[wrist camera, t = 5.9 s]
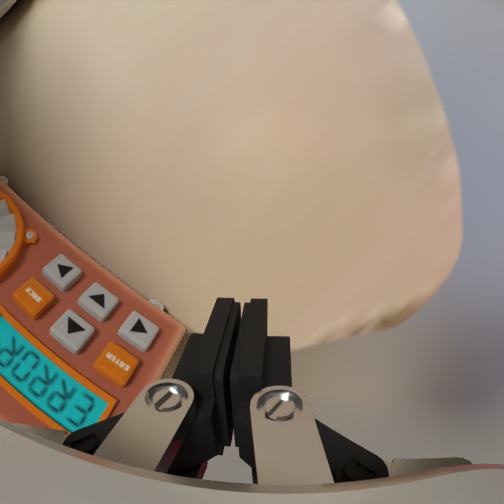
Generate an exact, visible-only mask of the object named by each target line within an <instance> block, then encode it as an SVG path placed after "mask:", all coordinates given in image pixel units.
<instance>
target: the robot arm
mask: <svg viewBox="0 0 504 504" xmlns="http://www.w3.org/2000/svg"><path fill="white" fill-rule="evenodd" d="M16 1H17V0H0V18H1V17H2V16H3V15H4V14H5V13H6V12H7V11H8V10H9V9H10V8H11V6H12V5H13V4H14V3H15V2H16ZM290 357H291V355H290V337H283V336H267V299H251V302H250V303H245V304H244V308H243V313H242V318H241V306H240V302H235V301H234V298H217V300H216V303H215V305H214V308H213V311H212V313H211V316H210V318H209V321H208V324H207V326H206V329H205V332H204V334H199V333H193V334H191V336H190V338H189V340H188V343H187V345H186V347H185V350H184V352H183V354H182V356H181V359H180V361H179V363H178V366H177V368H176V370H175V373H174V375H173V377H172V379H160V380H157V381H154V382H152V383H150V384H148V385H147V386H146V387H145V388H144V389H143V390H142V391H141V392H140V393H139V395H138V396H137V397H136V399H135V400H134V401H133V403H132V404H131V405H130V407H129V408H128V409H127V411H126V412H124V413H121V414H119V415H116V416H113V417H111V418H108V419H105V420H103V421H100V422H97V423H94V424H92V425H89V426H86V427H83V428H80V429H78V430H76V431H74V432H72V433H71V434H68V433H67V431H66V430H58V429H50V428H44V427H37V426H31V425H26V424H20V423H12V424H9V423H7V422H5V421H2V420H0V504H504V465H502V464H472V463H471V462H470V461H468V460H466V459H464V458H458V457H451V458H421V459H407V458H394V459H393V461H392V462H385V461H383V460H382V459H381V458H379V457H378V456H377V455H375V454H373V453H371V452H369V451H368V450H366V449H364V448H363V447H361V446H359V445H358V444H356V443H354V442H352V441H350V440H349V439H347V438H346V437H344V436H342V435H341V434H339V433H337V432H336V431H334V430H332V429H331V428H329V427H327V426H326V425H324V424H323V423H321V422H319V421H318V420H316V419H314V416H313V413H312V409H311V406H310V403H309V401H308V399H307V397H306V395H304V394H303V393H302V392H301V391H299V390H297V389H295V388H293V387H292V381H291V380H292V378H291V358H290ZM233 429H234V436H235V446H236V447H239V455H240V458H241V459H242V460H244V461H245V462H246V463H247V464H248V465H250V467H251V468H252V478H253V484H242V483H229V482H219V481H210V480H202V478H203V476H204V473H205V471H206V469H207V464H208V462H207V461H208V460H209V459H211V458H213V457H215V456H217V455H223V450H224V446H230V445H231V441H232V435H233Z"/></svg>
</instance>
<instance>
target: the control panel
mask: <svg viewBox="0 0 504 504" xmlns="http://www.w3.org/2000/svg"><path fill="white" fill-rule="evenodd" d="M163 310H164V306H163V305H162V303H161V302H160V301H159V300H156V299H153V298H151V299H150V300H147V299H145V298H144V297H143V296H141V295H140V294H138V293H137V292H136V291H134V290H133V289H131V288H130V287H129V286H127V285H126V284H125V283H123V282H122V281H121V280H119V279H118V278H117V277H115V276H114V275H113V274H111V273H110V272H109V271H107V270H106V269H105V268H103V267H102V266H101V265H99V264H98V263H97V262H96V261H94V260H93V259H92V258H90V257H89V256H88V255H87V254H85V253H84V252H83V251H82V250H80V249H79V248H78V247H77V246H75V245H74V244H73V243H72V242H71V241H69V240H68V239H67V238H66V237H65V236H63V235H62V234H61V233H60V232H59V231H57V230H56V229H55V228H54V227H53V226H52V225H50V224H49V223H48V222H47V221H46V220H45V219H43V218H42V217H41V216H40V215H39V214H38V213H37V212H36V211H34V210H33V209H32V208H31V207H30V206H29V205H28V204H27V203H26V202H24V201H23V200H22V199H21V198H20V197H19V196H18V195H17V194H16V193H15V192H14V191H13V190H12V189H11V188H9V187H8V179H7V178H6V177H4V176H0V420H2V421H5V422H7V423H9V424H12V423H20V424H26V425H31V426H37V427H44V428H50V429H58V430H66V431H67V433H68V434H71V433H72V432H74V431H76V430H78V429H80V428H83V427H86V426H89V425H92V424H94V423H97V422H100V421H103V420H105V419H108V418H111V417H113V416H116V415H119V414H121V413H124V412H126V411H127V409H128V408H129V407H130V405H131V404H132V403H133V401H134V400H135V399H136V397H137V396H138V395H139V393H140V392H141V391H142V390H143V389H144V388H145V387H146V386H147V385H148V384H150V383H152V382H154V381H157V380H160V379H161V378H162V376H163V374H164V372H165V370H166V368H167V366H168V365H169V363H170V361H171V359H172V357H173V355H174V353H175V351H176V349H177V347H178V346H179V344H180V342H181V340H182V338H183V336H184V334H185V332H186V326H185V325H183V324H182V323H180V322H179V321H177V320H176V319H174V318H173V317H171V316H170V315H168V314H167V313H166V312H164V311H163Z"/></svg>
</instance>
